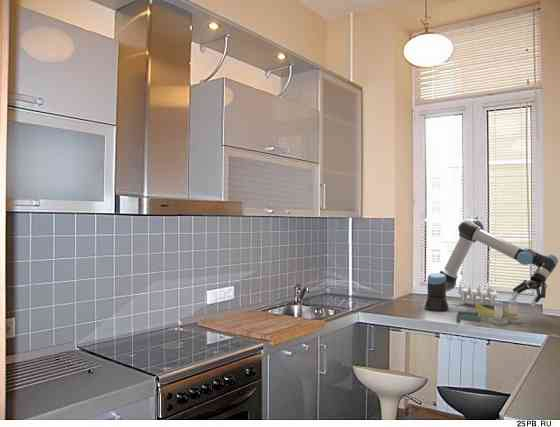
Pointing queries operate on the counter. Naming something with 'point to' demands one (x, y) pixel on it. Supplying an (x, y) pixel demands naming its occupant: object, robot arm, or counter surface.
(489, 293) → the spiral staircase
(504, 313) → the plastic component
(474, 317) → the tray
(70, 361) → the counter surface
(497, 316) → the plain fuse
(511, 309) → the marked fuse
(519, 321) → the fuse block
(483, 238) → the robot arm
